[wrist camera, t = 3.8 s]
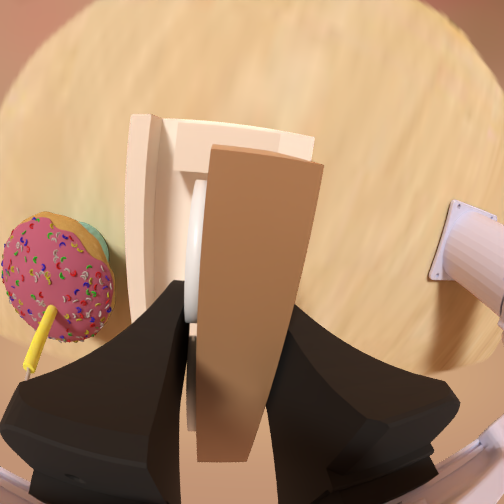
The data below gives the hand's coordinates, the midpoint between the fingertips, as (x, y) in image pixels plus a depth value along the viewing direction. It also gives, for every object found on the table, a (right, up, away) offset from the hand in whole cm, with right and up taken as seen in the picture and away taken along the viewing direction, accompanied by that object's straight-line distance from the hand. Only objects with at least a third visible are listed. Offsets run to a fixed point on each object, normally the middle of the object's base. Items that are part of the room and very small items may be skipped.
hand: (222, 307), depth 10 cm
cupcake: (-12, +2, +8) cm, 14 cm away
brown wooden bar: (0, 0, +1) cm, 2 cm away
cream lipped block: (-1, +4, +9) cm, 10 cm away
